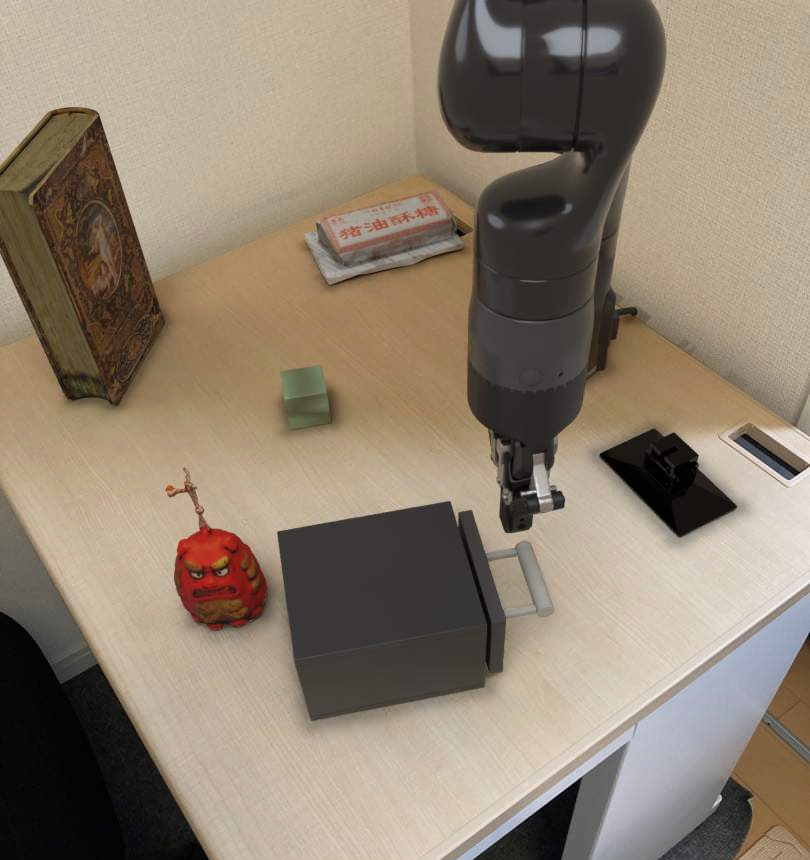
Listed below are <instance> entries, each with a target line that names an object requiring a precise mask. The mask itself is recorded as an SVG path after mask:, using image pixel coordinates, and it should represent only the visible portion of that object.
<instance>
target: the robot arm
mask: <svg viewBox="0 0 810 860" xmlns="http://www.w3.org/2000/svg"><path fill="white" fill-rule="evenodd" d="M665 30H666V29H665V27H664V22H663V20H662V18H661V14H660V12H659V10H658V8H657V7H656V5H655V4H654V2H653V1H652V0H454V1H453V5H452V8H451V10H450V14H449V17H448V21H447V25H446V28H445V31H444V33H443V38H442V43H441V47H440V51H439V56H438V60H437V67H436V77H435V79H436V80H435V93H436V99H437V100H436V101H437V105H438V110H439V114H440V116H441V119H442V121H443V123H444V126H445V127H446V129H447V131H448V133H449V134H450V135H451V137H452V138H453V139H454V141H456V142H457V144H459V145H461V146H462V147H463V148H464V149H466V150H469V151H471V152H476V153H482V154H515V153H552V154H557V155H558V156H557V157H555V158H553V159H551V160H548V161H546V162H545V161H544V162H543V163H540V164H536V165H533V166H532V165H531V166H529V167H525V168H520V169H518V170H515V171H511V172H509V173H508V172H507V173H506V174H503V175H501V176H499V177H497V178H496V179H494V180H493V181H491V182H490V183H488V184H487V185H486V186H485V187H484V188H483V189H482V191H481V192H480V194H479V196H478V197H477V200H476V203H475V207H474V213H473V223H472V224H473V225H472V226H473V227H472V228H473V229H472V286H471V294H470V299H469V306H468V312H467V313H468V314H467V364H466V365H467V366H466V367H467V368H466V369H467V370H466V371H467V374H466V375H467V376H466V377H467V378H466V379H467V380H466V383H467V384H466V385H467V386H466V387H467V388H466V394H467V395H466V398H467V404H468V407H469V409H470V412H471V413H472V415H473V416H474V418H475V419H476V420H477V422H479V423H480V424H481V425H482V426H483V427H484V428H486V429H487V431H488V439H489V447H490V460H491V461H492V463H493V465H494V466H495V467H496V477H495V480H496V484H497V485H498V487H499V489H500V491H499V510H498V511H499V512H498V517H499V520H500V523H501V526H502V530H503V532H504V533H505V534H516V533H520V532H521V533H522V532H526V531H530V529H531V528H532V527H533V524H534V523H533V522H534V515H540V514H547V513H550V512H554V511H559V510H564V509H565V506H566V505H565V503H566V497H565V495H564V493H563V491H562V490H558V489H557V485H555V484H553V485H552V484H551V485H550V477H551V470H552V468H553V467H554V465H555V455H556V454H557V452H558V448H559V447H558V446H559V434H561V432H563V431H564V430H565V429H566V428H567V427H569V426H570V425H571V424H572V423H573V422H574V421H575V420H576V418H577V417H578V415H579V414H580V412H581V410H582V408H583V403H584V396H585V390H586V382H587V380H588V379H589V378H591V377H592V376H593V375H594V374H595V373H596V372H597V371H600V370H601V371H602V370H605V369H606V367H607V361H608V360H607V359H608V353H609V347H610V341H613V340H614V341H615V340H617V338H618V334H619V333H618V332H619V326H620V320H621V318H620V317H622V316H626V315H631V316H632V317H637V315H638V313H639V311H638V308H637V307H636V306H629V307H622V308H618V309H617V308H616V304H617V294H616V292H615V290H614V289H613V287H612V279H613V273H614V265H615V260H616V252H617V245H618V239H619V238H618V237H619V234H620V233H619V231H620V225H621V220H622V215H623V208H624V203H625V199H626V193H627V190H628V189H627V188H628V184H629V178H630V174H631V173H630V172H631V168H632V167H631V166H632V160H633V155H634V153H635V151H636V149H637V147H638V145H639V143H640V140H641V139H642V137H643V134H644V133H645V130H646V128H647V126H648V124H649V122H650V119H651V116H652V114H653V112H654V109H655V107H656V104H657V102H658V98H659V96H660V93H661V89H662V86H663V81H664V79H665V78H664V77H665V72H666V71H665V70H666V66H667V52H668V50H667V47H668V45H667V37H666V31H665Z"/></svg>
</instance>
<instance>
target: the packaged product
mask: <svg viewBox="0 0 810 860" xmlns="http://www.w3.org/2000/svg"><path fill="white" fill-rule="evenodd" d="M315 225H316V230H313V231H308V232H305V233H304V234H303V236H304V238H305V241H306V245H307V247H308V249H309V251H310V252H311V255H312V256H313V258H314V260H315V262H316V265H317V266H318V268H319V271H320V273H321V274H322V276H323V277H324V279H325V281H326V282H327V284H328V286H331V285H334V284H337V283H339V282H342V281H345V280H347V279H350V278H353V277H356V276H358V275H367V274H372V273H376V272H381V271H386V270H390V269H393V268H399V267H408V266H414V265H415V264H417V263H420V262H421V261H423V260H425V259H428V258H431V257H434V256H438V255H441V254H444V253H448V252H454V251H458V250H462V249H463V248H464V246H465V243H464V241H463V240H462V239H461V237H460V236H459V235H458V233H457V230H458V223H457V220H456V219H455V217H454V211H452V209H451V207H450V206H449V205H447V203H446V202H445V200H444V197H443V196H442V195H441V194H440V192H439V190H436V189H434V190H432V191H431V190H430V191H427V192H421V193H418V194H414V195H411V196H409V195H408V196H406V197H402V198H397V199H393V200H389V201H384V202H381V203H378V204H373V205H369V206H365V207H362V208H357V209H355V210H354V209H353V210H350V211H346V212H342V213H338V214H333V215H329V216H326V217H322V218H319V219H318V220H317V221H316V222H315Z"/></svg>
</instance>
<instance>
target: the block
mask: <svg viewBox="0 0 810 860" xmlns="http://www.w3.org/2000/svg"><path fill="white" fill-rule="evenodd" d="M279 374H280V382H281V388H282V395H283V400H284V407H285V410H286V415H287V420H288V425H289V429H290V431H292V430H298V429H305V428H310V427H311V428H312V427H317V426H322V425H329V424H332V416H331V409H330V402H329V396H328V390H327V386H326V380H325V375H324V370H323V365H322V364H318V365H310V366H304V367H297V368H292V369H286V370H280V371H279Z"/></svg>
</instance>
